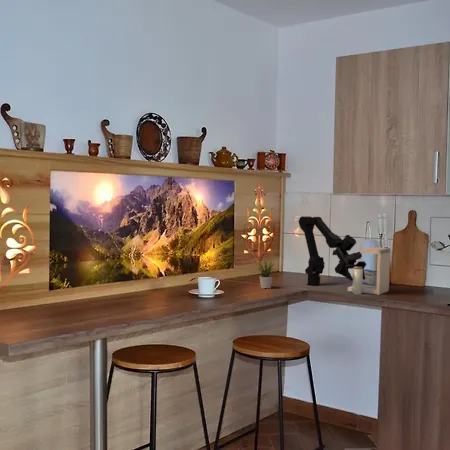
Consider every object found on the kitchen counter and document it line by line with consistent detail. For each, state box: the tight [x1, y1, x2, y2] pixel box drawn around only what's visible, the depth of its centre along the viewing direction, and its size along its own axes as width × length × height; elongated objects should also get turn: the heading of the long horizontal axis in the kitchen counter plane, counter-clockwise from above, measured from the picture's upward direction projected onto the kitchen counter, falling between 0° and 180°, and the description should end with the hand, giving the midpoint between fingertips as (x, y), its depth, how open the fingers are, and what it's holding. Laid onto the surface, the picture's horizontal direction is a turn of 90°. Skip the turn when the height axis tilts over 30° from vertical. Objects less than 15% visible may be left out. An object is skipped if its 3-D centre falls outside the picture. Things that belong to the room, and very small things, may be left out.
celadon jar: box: [351, 266, 363, 295], centre depth 342 cm, size 5×5×14 cm
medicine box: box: [362, 268, 377, 286], centre depth 373 cm, size 8×4×9 cm, turn 37°
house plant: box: [256, 258, 278, 289], centre depth 353 cm, size 14×14×16 cm
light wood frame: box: [347, 246, 391, 296], centre depth 350 cm, size 18×16×23 cm
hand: (358, 279), depth 341 cm, fingers open, 9 cm apart
